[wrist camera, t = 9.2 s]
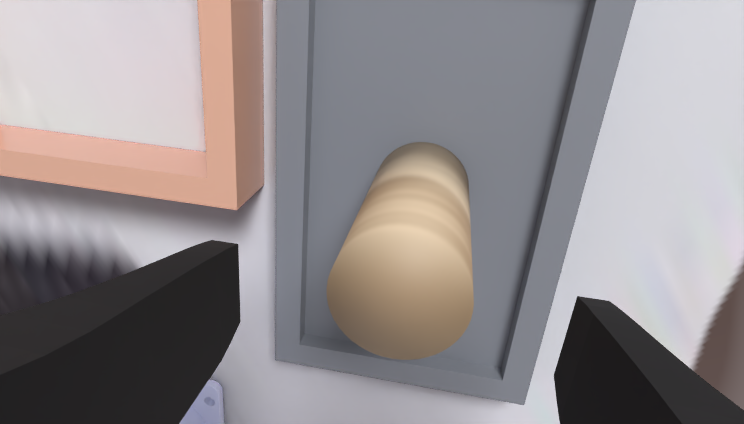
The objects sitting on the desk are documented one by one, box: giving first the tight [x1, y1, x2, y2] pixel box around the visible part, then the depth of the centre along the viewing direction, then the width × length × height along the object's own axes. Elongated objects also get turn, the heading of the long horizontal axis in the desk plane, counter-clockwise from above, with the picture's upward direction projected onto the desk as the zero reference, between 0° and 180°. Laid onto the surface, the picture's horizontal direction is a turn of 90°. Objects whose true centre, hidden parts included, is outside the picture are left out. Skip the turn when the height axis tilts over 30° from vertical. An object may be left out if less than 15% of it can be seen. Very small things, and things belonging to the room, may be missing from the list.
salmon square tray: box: [0, 0, 264, 210], centre depth 16 cm, size 12×12×2 cm
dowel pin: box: [327, 142, 474, 360], centre depth 14 cm, size 3×3×7 cm
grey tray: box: [275, 0, 636, 405], centre depth 17 cm, size 16×10×2 cm, turn 175°
